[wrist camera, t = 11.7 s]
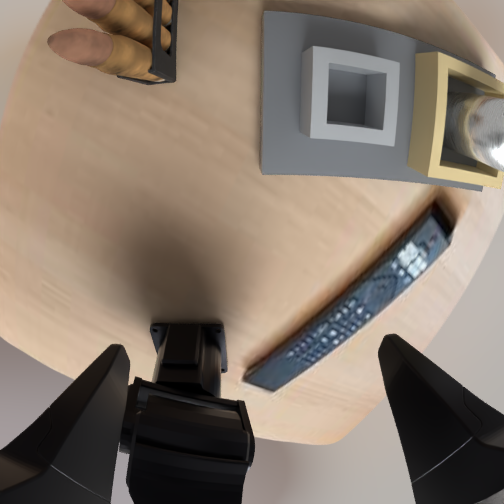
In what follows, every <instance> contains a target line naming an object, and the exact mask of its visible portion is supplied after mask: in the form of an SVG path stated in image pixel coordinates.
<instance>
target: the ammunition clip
mask: <svg viewBox="0 0 504 504" xmlns="http://www.w3.org/2000/svg"><path fill="white" fill-rule="evenodd" d="M62 1H63V2H64V3H65V4H66V5H67V6H69V7H70V8H71V9H73V10H74V11H75V12H77V13H78V14H81V15H83V16H85V17H87V18H88V19H89V20H91V21H93V22H95V23H96V24H97V25H98V26H99V27H100V28H101V29H102V30H103V31H105V32H108V33H110V34H112V35H110V34H107V33H101V32H98V31H95V30H91V29H83V28H76V29H68V30H62V31H59V32H57V33H55V34H53V35H51V36H50V37H49V38H48V45H49V46H50V48H51V49H52V50H53V51H54V52H55V53H56V54H58V55H59V56H61V57H62V58H64V59H66V60H69V61H72V62H75V63H78V64H81V65H87V66H90V67H93V68H97V69H98V70H100V71H102V72H104V73H107V74H112V75H117V77H118V78H122V79H126V80H130V81H134V82H138V83H142V84H146V85H153V84H162V83H172V82H175V81H176V42H177V14H178V0H62Z"/></svg>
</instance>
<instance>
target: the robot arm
mask: <svg viewBox="0 0 504 504" xmlns="http://www.w3.org/2000/svg"><path fill="white" fill-rule="evenodd" d="M154 328H155V329H154ZM217 329H220V330H217ZM150 333H151V336H152V339H153V343H154V346H155V349H156V352H157V360H156V364H155V369H154V374H153V378H152V382H149V381H146V380H142V378H139V377H136V376H135V379H134V383H133V384H130V385H128V381H129V371H130V360H129V357H128V355H127V353H126V350H125V348H124V346H123V345H121V344H111V345H110V346H109V347H108V348H107V349H106V350H105V351H104V352H103V353H102V354H101V355H100V356H99V357H98V358H97V359H96V360H95V361H94V362H93V363H92V364H91V365H90V366H89V367H88V368H87V369H86V370H85V371H84V372H83V373H82V374H81V375H80V376H79V377H78V378H77V379H76V380H75V381H74V382H73V383H72V384H71V385H70V386H69V387H68V388H67V389H66V390H65V391H64V392H63V393H62V394H61V395H60V396H59V397H58V398H57V399H56V400H55V401H54V402H53V403H52V404H51V405H50V408H49V407H48V408H47V409H46V410H45V411H44V412H43V414H41V415H40V416H39V418H37V419H36V420H35V421H34V422H33V423H32V424H31V425H30V426H29V427H28V428H27V429H25V430H24V431H23V432H22V433H21V434H20V435H19V436H17V437H16V438H15V439H14V440H13V441H11V442H10V443H9V444H8V445H7V446H5V447H4V448H3V449H1V450H0V504H111V503H110V502H111V495H112V486H113V479H114V471H115V464H116V458H117V451H118V445H119V442H120V446H119V452H122V453H126V454H127V453H128V454H130V455H129V462H128V469H127V476H126V484H127V486H128V488H129V494H130V496H131V498H132V500H133V502H134V504H241V503H242V492H243V484H244V480H245V475H246V472H247V471H248V470H249V469H250V467H251V465H252V462H253V458H254V452H255V440H254V435H253V431H252V428H251V424H250V420H249V417H248V413H247V409H246V406H245V402H244V401H241V400H237V401H235V400H229V399H223V398H221V373H226V372H227V370H228V367H227V355H226V343H225V330H224V326H223V325H222V324H172V323H153V324H151V326H150ZM378 358H379V362H380V367H381V371H382V376H383V381H384V386H385V390H386V394H387V397H388V400H389V403H390V407H391V410H392V413H393V416H394V419H395V423H396V427H397V429H398V433H399V437H400V440H401V444H402V448H403V452H404V455H405V459H406V463H407V467H408V471H409V475H410V479H411V483H412V489H413V493H414V498H415V502H416V504H504V415H503V414H502V413H500V412H499V411H497V410H496V409H494V408H492V407H491V406H490V405H488V404H487V403H485V402H484V401H482V400H481V399H479V398H478V397H477V396H475V395H474V394H473V393H471V392H470V391H469V390H468V389H466V388H465V387H463V386H462V385H461V384H460V383H459V382H457V381H456V380H455V379H454V378H452V377H451V376H450V375H449V374H447V373H446V372H445V371H443V370H442V369H441V368H440V367H438V366H437V365H436V364H434V363H433V362H432V361H431V360H429V359H428V358H427V357H426V356H424V355H423V354H422V353H420V352H419V351H418V350H417V349H415V348H414V347H413V346H411V345H410V344H409V343H407V342H406V341H405V340H404V339H402V338H401V337H400V336H398V335H397V334H388V335H385V336H384V338H383V340H382V343H381V345H380V347H379V350H378Z"/></svg>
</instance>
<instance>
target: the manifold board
mask: <svg viewBox="0 0 504 504" xmlns="http://www.w3.org/2000/svg"><path fill="white" fill-rule="evenodd" d="M451 91H455V92H463V93H471V94H478V95H484V96H490V97H496V98H501V99H504V83H502V82H501V81H499V80H497V79H495V74H493V73H491V72H489V71H487V70H485V69H484V68H482V67H480V66H478V65H476V64H474V63H472V62H470V61H468V60H466V59H463V58H461V57H459V56H457V55H455V54H452V53H450V52H448V51H445V50H443V49H440V48H438V47H435V46H433V45H430V44H428V43H425V42H422V41H419V40H417V39H414V38H411V37H408V36H405V35H401V34H398V33H395V32H392V31H388V30H385V29H381V28H377V27H373V26H369V25H365V24H361V23H356V22H352V21H347V20H342V19H336V18H330V17H324V16H317V15H310V14H302V13H292V12H280V11H264V12H263V15H262V57H261V137H260V170H261V173H262V175H313V176H337V177H355V178H370V179H383V180H394V181H405V182H414V183H423V184H432V185H440V186H447V187H455V188H462V189H468V190H475V191H481V192H482V189H483V186H487V187H492V188H497V189H501V185H502V181H503V176H504V172H502V171H500V170H498V169H495V168H493V167H491V166H489V165H486V164H484V163H482V162H479V161H477V160H475V159H472V158H470V157H467V156H465V155H462V154H460V153H457V152H454V151H452V150H449V149H448V148H446V147H445V146H444V145H443V137H444V128H445V118H446V105H447V92H451Z"/></svg>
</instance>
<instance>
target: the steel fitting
mask: <svg viewBox="0 0 504 504" xmlns="http://www.w3.org/2000/svg"><path fill="white" fill-rule="evenodd" d="M443 145H444V146H445V147H446V148H448V149H449V150H452V151H454V152H457V153H460V154H462V155H465V156H467V157H470V158H472V159H475V160H477V161H479V162H482V163H484V164H486V165H489V166H491V167H493V168H495V169H498V170H500V171H502V172H504V99H501V98H496V97H490V96H484V95H478V94H471V93H463V92H455V91H451V92H447V105H446V118H445V128H444V137H443Z"/></svg>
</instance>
